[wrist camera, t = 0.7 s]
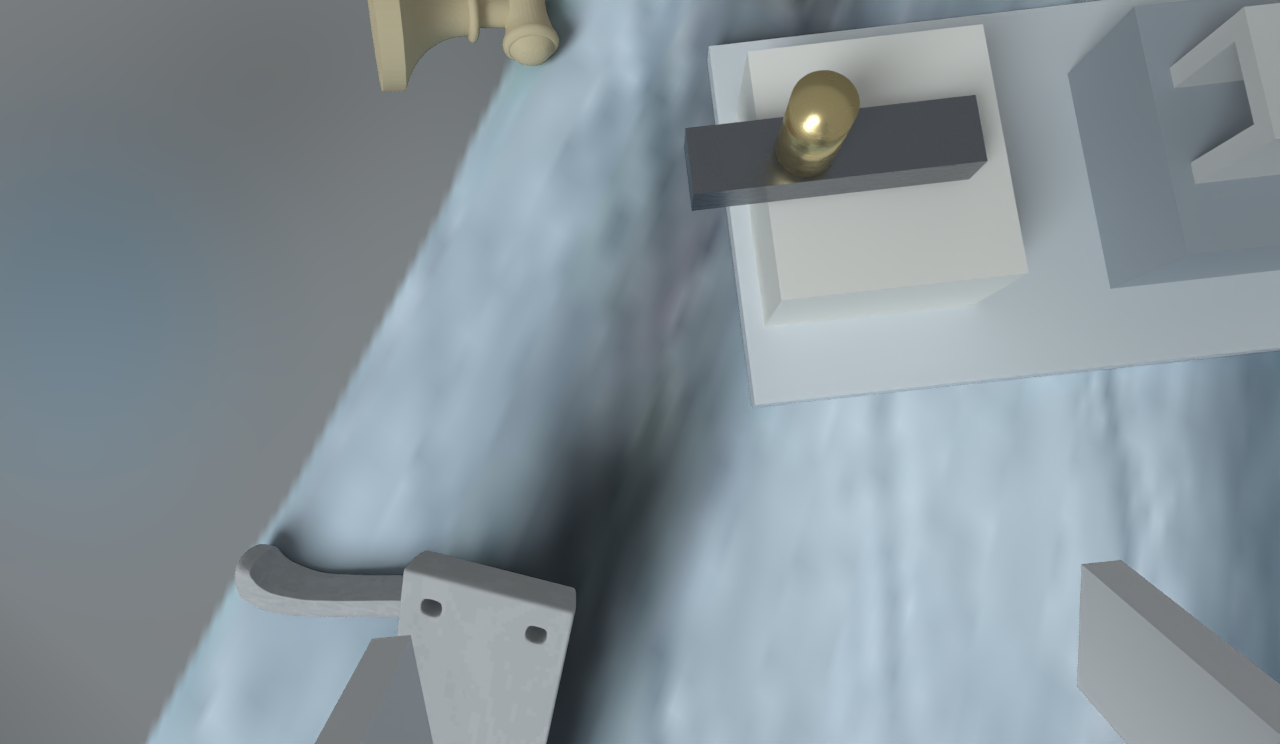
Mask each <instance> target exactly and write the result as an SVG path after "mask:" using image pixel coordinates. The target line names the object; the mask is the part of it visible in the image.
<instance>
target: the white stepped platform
mask: <svg viewBox="0 0 1280 744" xmlns="http://www.w3.org/2000/svg"><path fill="white" fill-rule="evenodd" d="M707 62H708V69H709V77H710V85H711V93H712V101H713V108H714V116H715V124H716V125H718V124H727V123H735V122H744V121H753V120H761V119H770V118H779V117H784V115H785V112H786V109H787V105H788V102H789V99H790V96H791V93H792V90H793V88H794V86H795V85H796V84H797V82H798V81H799V80H800V79H801V78H802V77H804V76H805V75H807V74H809V73H811V72H814V71H819V70H830V71H834V72H838V73H840V74H842V75H844V76H845V77H847V78H848V79H849V80H850V81H851V82H852V83H853V85H854V86H855V88H856V89H857V92H858V94H859V99H860V107H859V108H865V107H874V106H883V105H891V104H900V103H909V102H917V101H926V100H935V99H943V98H952V97H961V96H969V95H976V99H977V105H978V110H979V116H980V121H981V127H982V132H983V138H984V144H985V149H986V155H987V160H988V161H987V162H986V163H985V164H984V165H983V166H982V167H981V168H980V169H979V170H978V171H977V172H976V173H975V174H974V175H973V176H972V177H971V178H970V179H967V180H958V181H950V182H941V183H932V184H923V185H914V186H906V187H897V188H888V189H879V190H870V191H862V192H853V193H844V194H835V195H826V196H817V197H809V198H800V199H791V200H782V201H773V202H765V203H756V204H747V205H738V206H729V207H726V210H727V218H728V226H729V234H730V241H731V249H732V257H733V265H734V273H735V281H736V288H737V296H738V304H739V312H740V320H741V327H742V335H743V343H744V351H745V359H746V367H747V374H748V382H749V390H750V398H751V406H752V408H755V407H765V406H774V405H783V404H792V403H801V402H810V401H819V400H829V399H838V398H847V397H856V396H865V395H874V394H884V393H893V392H902V391H911V390H920V389H929V388H939V387H948V386H957V385H966V384H975V383H984V382H994V381H1003V380H1012V379H1021V378H1030V377H1039V376H1049V375H1058V374H1067V373H1076V372H1085V371H1094V370H1104V369H1113V368H1122V367H1131V366H1140V365H1149V364H1158V363H1168V362H1177V361H1186V360H1195V359H1204V358H1213V357H1223V356H1232V355H1241V354H1250V353H1259V352H1268V351H1278V350H1280V0H1101V1H1092V2H1084V3H1075V4H1067V5H1058V6H1050V7H1041V8H1033V9H1024V10H1015V11H1007V12H998V13H990V14H981V15H973V16H964V17H956V18H947V19H939V20H930V21H921V22H913V23H904V24H896V25H887V26H879V27H870V28H862V29H853V30H845V31H836V32H827V33H819V34H810V35H802V36H793V37H785V38H776V39H768V40H759V41H751V42H742V43H733V44H725V45H716V46H709V50H708V60H707Z"/></svg>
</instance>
